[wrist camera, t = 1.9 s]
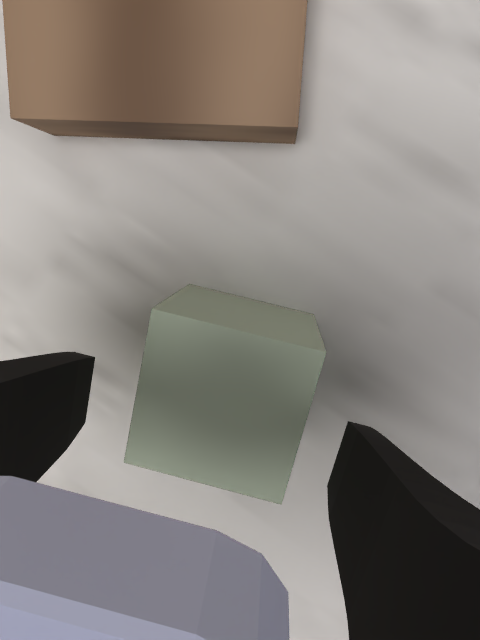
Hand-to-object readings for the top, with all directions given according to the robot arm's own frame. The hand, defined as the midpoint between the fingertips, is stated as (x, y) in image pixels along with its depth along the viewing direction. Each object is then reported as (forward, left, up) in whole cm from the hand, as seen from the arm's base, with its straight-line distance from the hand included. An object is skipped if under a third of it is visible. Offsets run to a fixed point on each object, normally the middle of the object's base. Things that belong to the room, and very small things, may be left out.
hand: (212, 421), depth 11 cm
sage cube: (0, 0, -6) cm, 6 cm away
